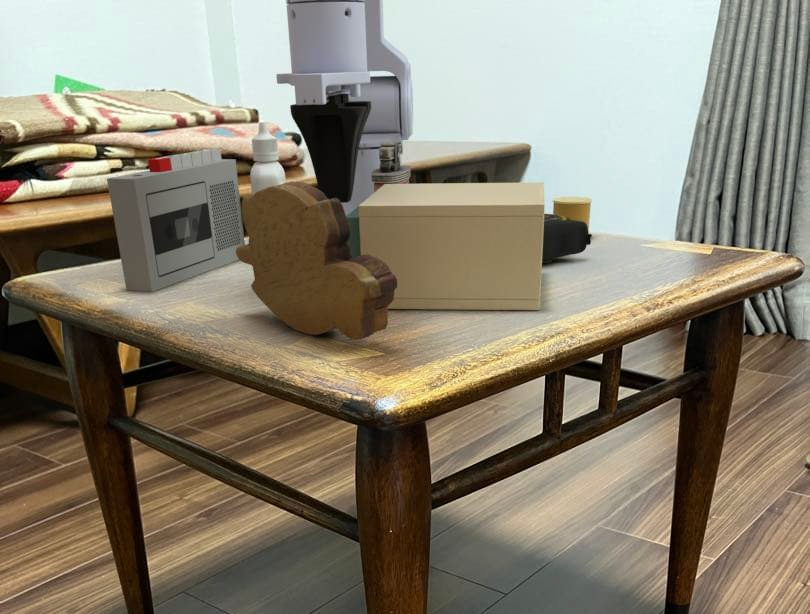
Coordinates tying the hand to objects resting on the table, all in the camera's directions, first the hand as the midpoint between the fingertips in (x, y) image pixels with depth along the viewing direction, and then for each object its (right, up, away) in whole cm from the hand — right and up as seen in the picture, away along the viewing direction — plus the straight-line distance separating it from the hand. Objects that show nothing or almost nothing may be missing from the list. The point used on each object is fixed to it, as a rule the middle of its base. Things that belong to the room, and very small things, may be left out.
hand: (337, 201), depth 71 cm
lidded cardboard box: (+10, -7, +2) cm, 12 cm away
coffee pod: (+23, +5, +22) cm, 32 cm away
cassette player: (-15, -2, +11) cm, 19 cm away
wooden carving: (-1, -12, -8) cm, 15 cm away
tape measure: (+19, -1, +12) cm, 22 cm away
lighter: (+4, +3, +19) cm, 20 cm away
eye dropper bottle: (-8, +2, +19) cm, 21 cm away
